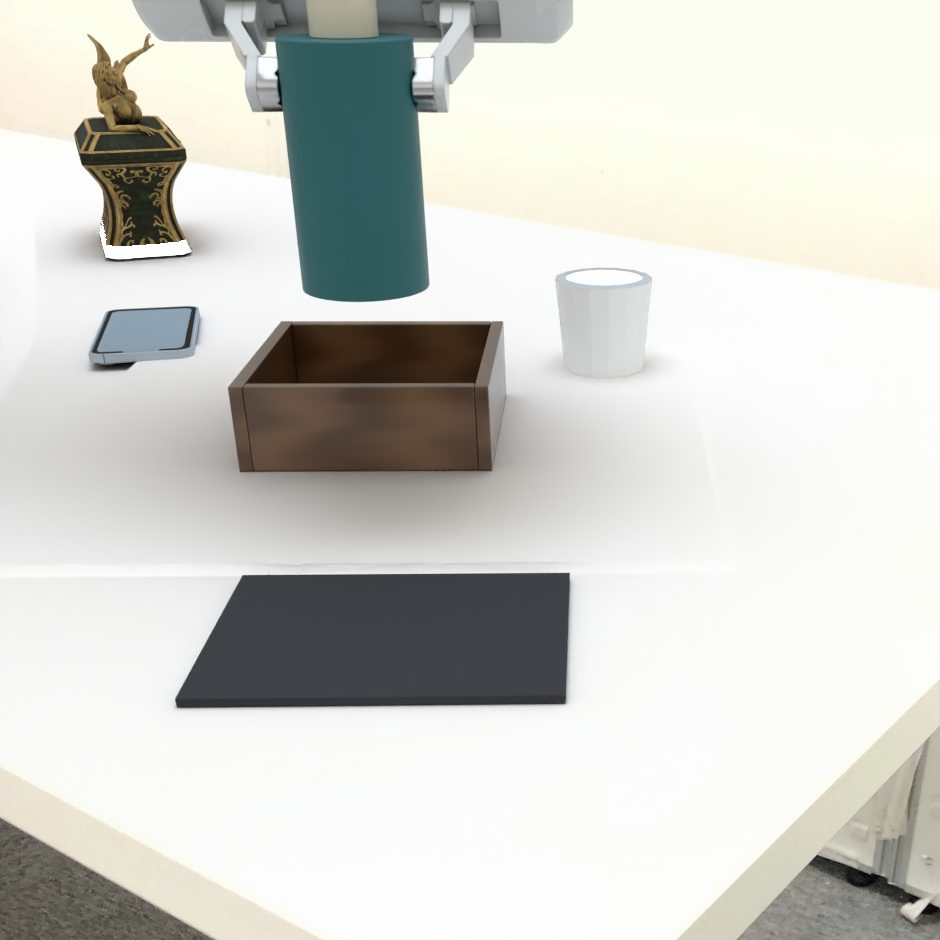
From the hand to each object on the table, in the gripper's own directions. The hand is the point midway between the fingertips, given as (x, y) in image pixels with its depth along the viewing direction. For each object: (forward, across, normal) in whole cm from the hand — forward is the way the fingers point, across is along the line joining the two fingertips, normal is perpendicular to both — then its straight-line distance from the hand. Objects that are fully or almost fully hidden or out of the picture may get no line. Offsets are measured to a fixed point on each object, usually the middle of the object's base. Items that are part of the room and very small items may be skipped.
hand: (349, 104), depth 60 cm
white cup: (-6, +12, +37) cm, 39 cm away
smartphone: (-13, -24, +43) cm, 51 cm away
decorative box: (-39, -35, +70) cm, 87 cm away
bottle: (+5, 0, +6) cm, 8 cm away
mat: (+23, +2, +8) cm, 24 cm away
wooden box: (+4, -2, +27) cm, 27 cm away
